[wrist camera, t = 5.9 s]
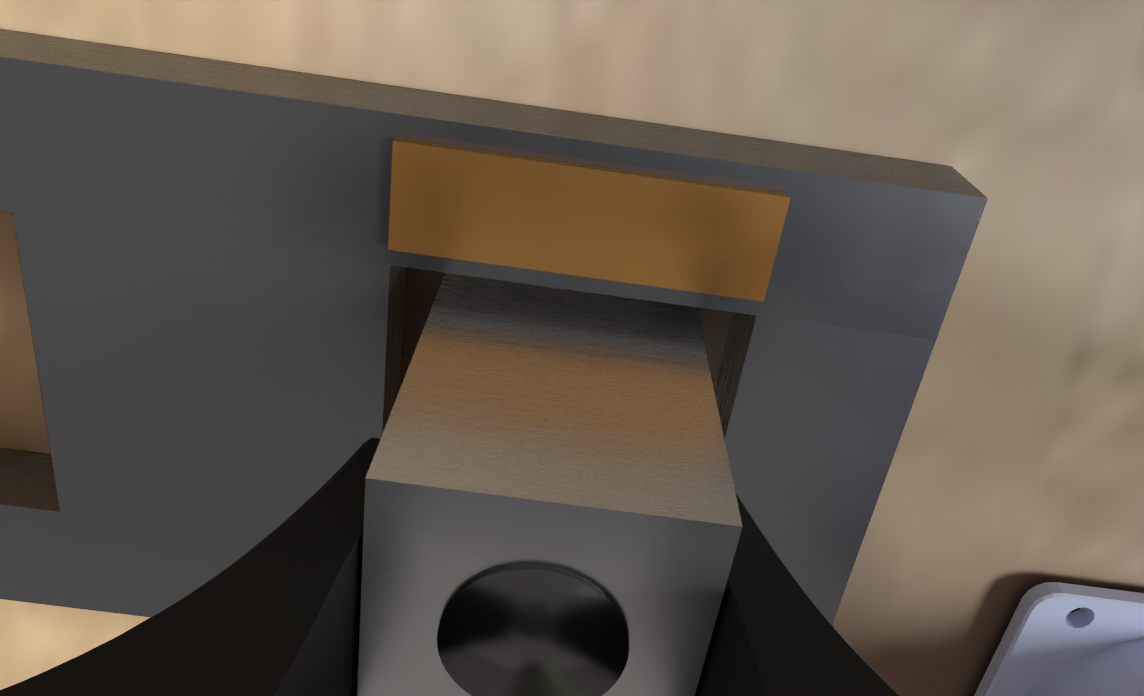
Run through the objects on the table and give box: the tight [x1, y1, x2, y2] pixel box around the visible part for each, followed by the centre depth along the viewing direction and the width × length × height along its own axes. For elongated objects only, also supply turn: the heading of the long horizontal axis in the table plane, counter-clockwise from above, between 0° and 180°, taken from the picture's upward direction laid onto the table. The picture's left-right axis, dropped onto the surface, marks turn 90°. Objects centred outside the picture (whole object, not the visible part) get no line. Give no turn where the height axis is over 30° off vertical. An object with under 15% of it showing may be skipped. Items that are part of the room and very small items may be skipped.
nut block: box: [357, 273, 743, 696], centre depth 13 cm, size 4×4×6 cm
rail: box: [0, 29, 988, 625], centre depth 15 cm, size 22×10×2 cm, turn 82°
